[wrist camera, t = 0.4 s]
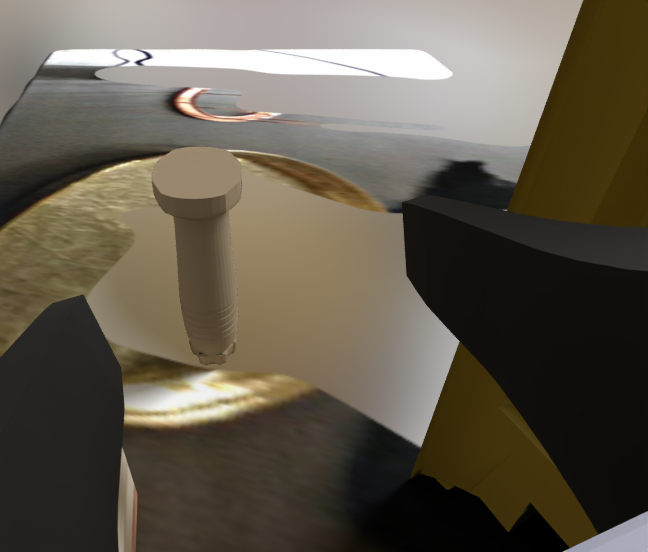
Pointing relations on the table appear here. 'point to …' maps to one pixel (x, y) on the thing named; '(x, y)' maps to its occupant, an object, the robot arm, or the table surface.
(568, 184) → the yellow recessed panel
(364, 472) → the table surface
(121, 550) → the birch sleeve
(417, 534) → the table surface
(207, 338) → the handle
